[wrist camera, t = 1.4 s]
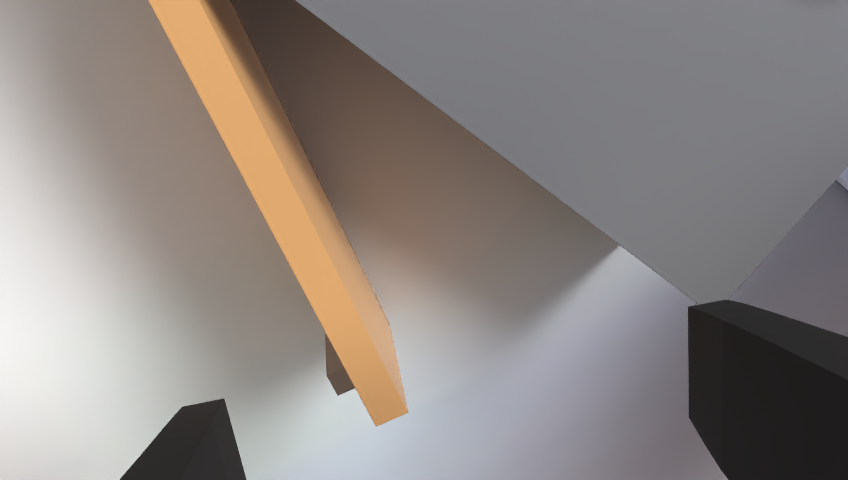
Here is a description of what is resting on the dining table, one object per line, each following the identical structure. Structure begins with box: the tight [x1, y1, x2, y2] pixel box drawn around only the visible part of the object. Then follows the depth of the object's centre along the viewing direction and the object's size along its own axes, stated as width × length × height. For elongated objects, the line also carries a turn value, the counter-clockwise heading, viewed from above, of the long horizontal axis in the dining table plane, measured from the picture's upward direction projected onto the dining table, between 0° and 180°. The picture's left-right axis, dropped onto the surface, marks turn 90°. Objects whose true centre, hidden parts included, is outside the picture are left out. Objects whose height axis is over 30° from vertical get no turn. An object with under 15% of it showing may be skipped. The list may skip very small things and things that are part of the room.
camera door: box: [148, 0, 408, 426], centre depth 17 cm, size 11×1×4 cm, turn 22°
